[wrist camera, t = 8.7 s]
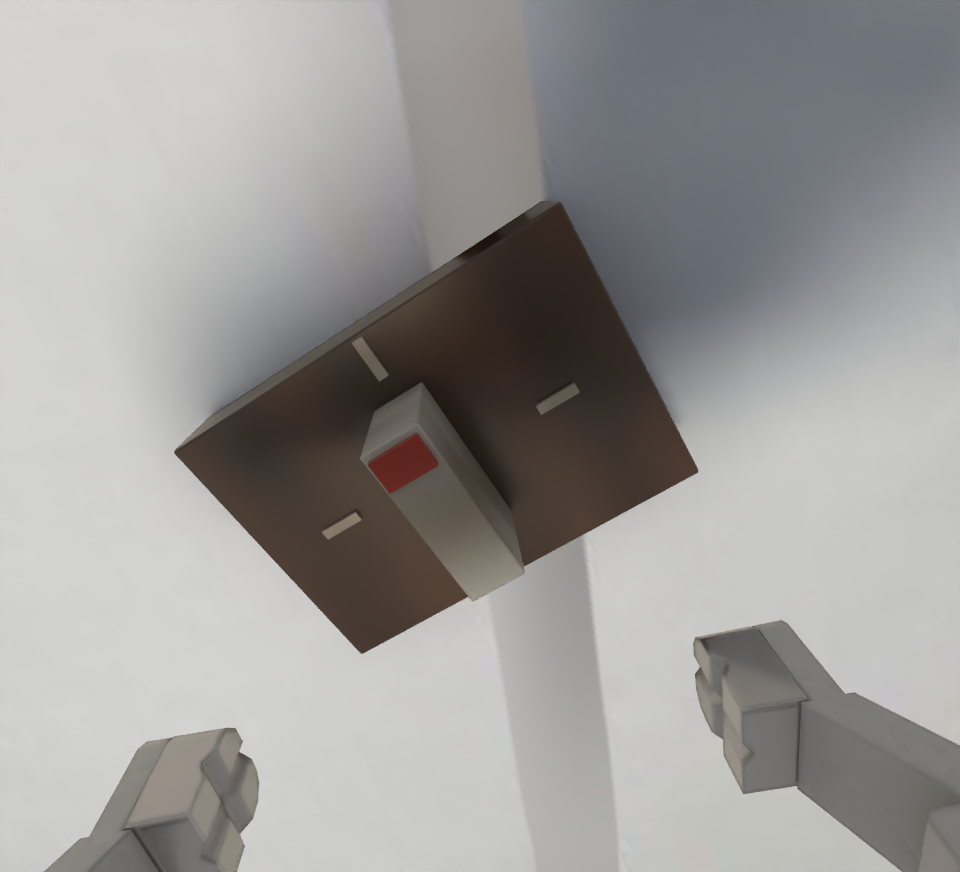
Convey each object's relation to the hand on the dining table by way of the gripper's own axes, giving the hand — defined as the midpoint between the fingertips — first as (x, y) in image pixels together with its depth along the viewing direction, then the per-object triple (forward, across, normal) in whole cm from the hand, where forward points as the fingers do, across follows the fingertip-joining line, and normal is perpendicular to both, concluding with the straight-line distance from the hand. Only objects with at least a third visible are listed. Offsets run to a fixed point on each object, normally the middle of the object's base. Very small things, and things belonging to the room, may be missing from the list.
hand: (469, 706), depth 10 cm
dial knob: (+10, 0, 0) cm, 10 cm away
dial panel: (+13, 0, 0) cm, 13 cm away
